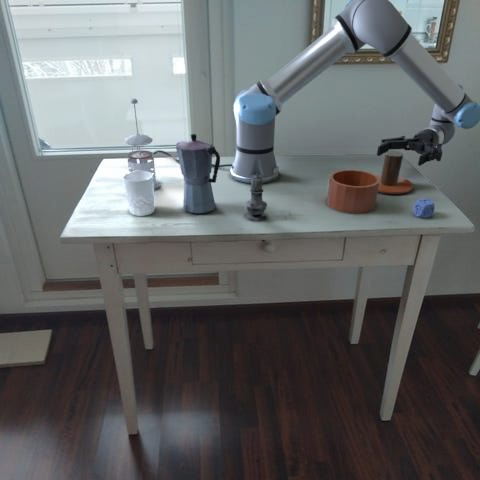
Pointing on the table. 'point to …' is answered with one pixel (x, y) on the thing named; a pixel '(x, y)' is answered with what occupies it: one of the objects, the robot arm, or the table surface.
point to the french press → (140, 153)
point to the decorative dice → (424, 208)
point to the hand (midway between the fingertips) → (398, 156)
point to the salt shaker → (256, 200)
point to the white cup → (139, 192)
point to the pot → (352, 191)
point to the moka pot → (197, 174)
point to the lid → (393, 175)
